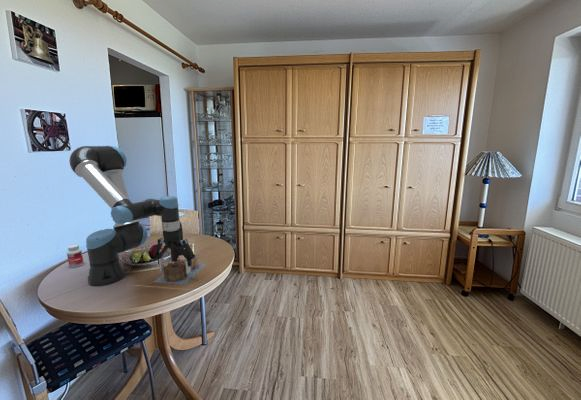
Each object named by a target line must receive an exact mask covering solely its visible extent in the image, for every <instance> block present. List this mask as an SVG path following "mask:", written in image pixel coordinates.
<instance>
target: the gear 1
mask: <svg viewBox="0 0 581 400" xmlns="http://www.w3.org/2000/svg"><path fill="white" fill-rule="evenodd" d="M163 274H164V277H165V279H166V282H168V281H173V282H176V281H178V280H183V279H184V277H187V274H186V264H185V263H184V262H178V261H176V262H171V263H170V262H169V263H167V264H166V265H165V266H164V270H163Z"/></svg>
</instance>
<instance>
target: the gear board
mask: <svg viewBox="0 0 581 400" xmlns="http://www.w3.org/2000/svg"><path fill="white" fill-rule="evenodd" d="M197 263H198V262H197ZM206 266H207V263H198V265H197V268H194V269H192V270H191V271H190V272H189V273H188V274H187V277H184V279H183V280H178V281H176V282H173V281H168V282H166V279H165V277H164V273H163V274H162V275H161V276H159V277H158V278H156V279H155V280H154V281H153V283H156V284H157V283H159V284H170V285H172V284H173V285H186V284H188V282H189V281H191V280H192V279H193V278H194V277H195V276H196V275H197V274H199V272H200V271H201V270H202V269H203V268H204V267H206Z"/></svg>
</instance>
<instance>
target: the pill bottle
mask: <svg viewBox="0 0 581 400" xmlns="http://www.w3.org/2000/svg"><path fill="white" fill-rule="evenodd" d="M82 251H83V250H82V249H81V248H80V245H79V244H72V245H69V246H67V252H66V255H67V256H66V257H67V261H68V266H69V267H70V268H77V267H81V266H83V265H84V258H83V252H82Z"/></svg>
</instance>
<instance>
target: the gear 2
mask: <svg viewBox="0 0 581 400" xmlns="http://www.w3.org/2000/svg"><path fill="white" fill-rule="evenodd" d="M194 255H195V258H193V259H192V260H191V261H192V265H191V266H190V267H191V270H192V269H194V268H197V265H198V254H196V253H195V254H194ZM186 260H187V259H186V258H185V257H184V256H183V255H181V256H178V258H177V261H178V262H184V263H185V261H186ZM185 264H186V263H185Z"/></svg>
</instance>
